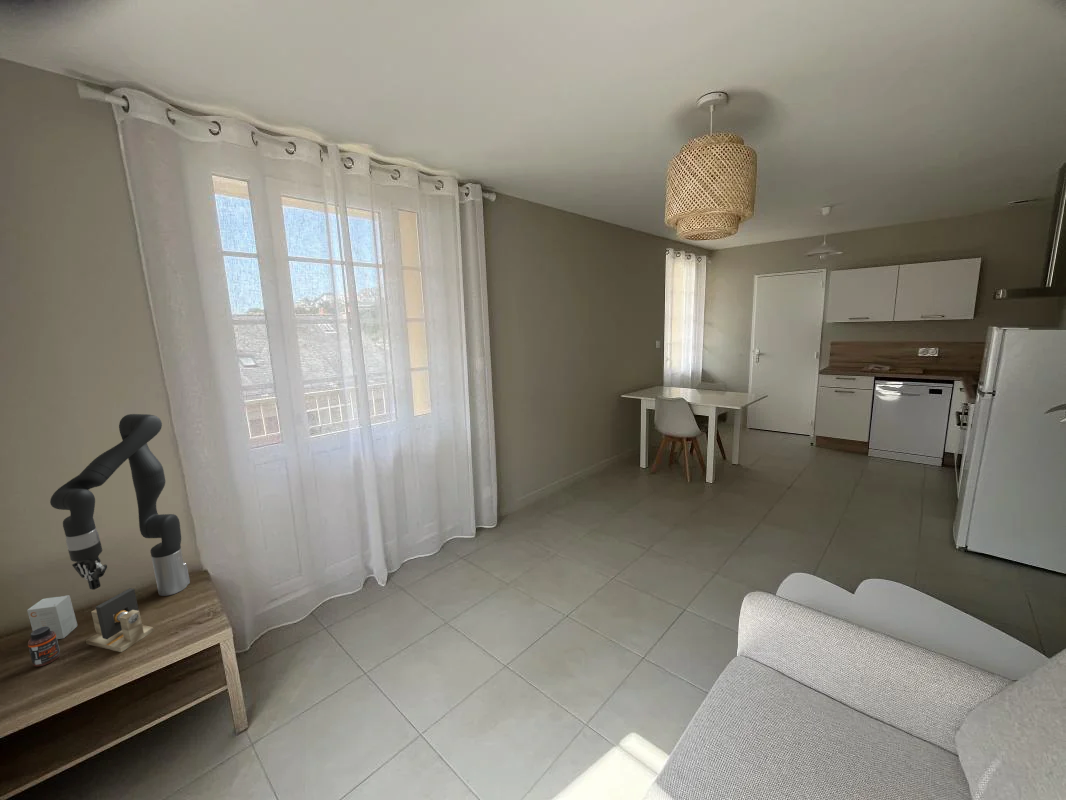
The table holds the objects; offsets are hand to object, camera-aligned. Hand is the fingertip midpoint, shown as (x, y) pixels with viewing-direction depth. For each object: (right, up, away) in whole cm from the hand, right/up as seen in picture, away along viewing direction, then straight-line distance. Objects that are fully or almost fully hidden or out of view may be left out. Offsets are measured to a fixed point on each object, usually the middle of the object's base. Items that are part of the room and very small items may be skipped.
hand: (95, 587), depth 144 cm
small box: (-17, -18, +3) cm, 26 cm away
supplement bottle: (-8, -21, -8) cm, 23 cm away
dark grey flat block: (+8, -15, +1) cm, 17 cm away
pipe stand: (+7, -19, +2) cm, 20 cm away
